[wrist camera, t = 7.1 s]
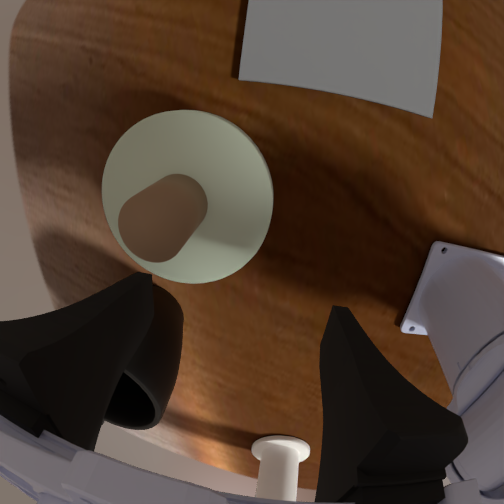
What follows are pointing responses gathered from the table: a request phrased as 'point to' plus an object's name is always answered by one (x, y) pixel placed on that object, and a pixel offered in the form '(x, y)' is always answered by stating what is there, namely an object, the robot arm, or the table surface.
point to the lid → (188, 195)
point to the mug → (150, 369)
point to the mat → (347, 48)
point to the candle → (279, 466)
